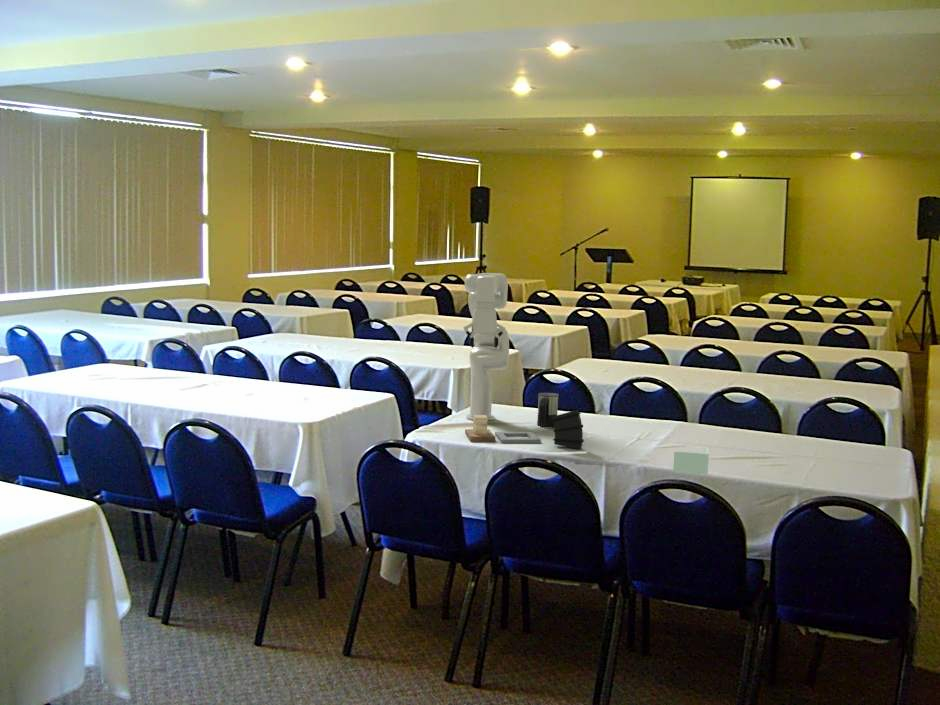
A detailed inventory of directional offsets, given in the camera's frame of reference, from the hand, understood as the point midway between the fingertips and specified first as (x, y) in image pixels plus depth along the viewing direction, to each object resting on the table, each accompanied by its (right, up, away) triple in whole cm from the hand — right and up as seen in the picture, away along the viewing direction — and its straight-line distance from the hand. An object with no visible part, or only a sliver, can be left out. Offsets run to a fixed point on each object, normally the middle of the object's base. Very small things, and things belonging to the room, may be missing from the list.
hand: (483, 347), depth 420 cm
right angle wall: (+74, -45, -51) cm, 101 cm away
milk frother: (+31, -35, +20) cm, 51 cm away
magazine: (+35, -41, -21) cm, 58 cm away
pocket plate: (+14, -38, -6) cm, 40 cm away
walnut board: (-2, -37, -5) cm, 37 cm away
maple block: (-2, -35, -5) cm, 36 cm away
